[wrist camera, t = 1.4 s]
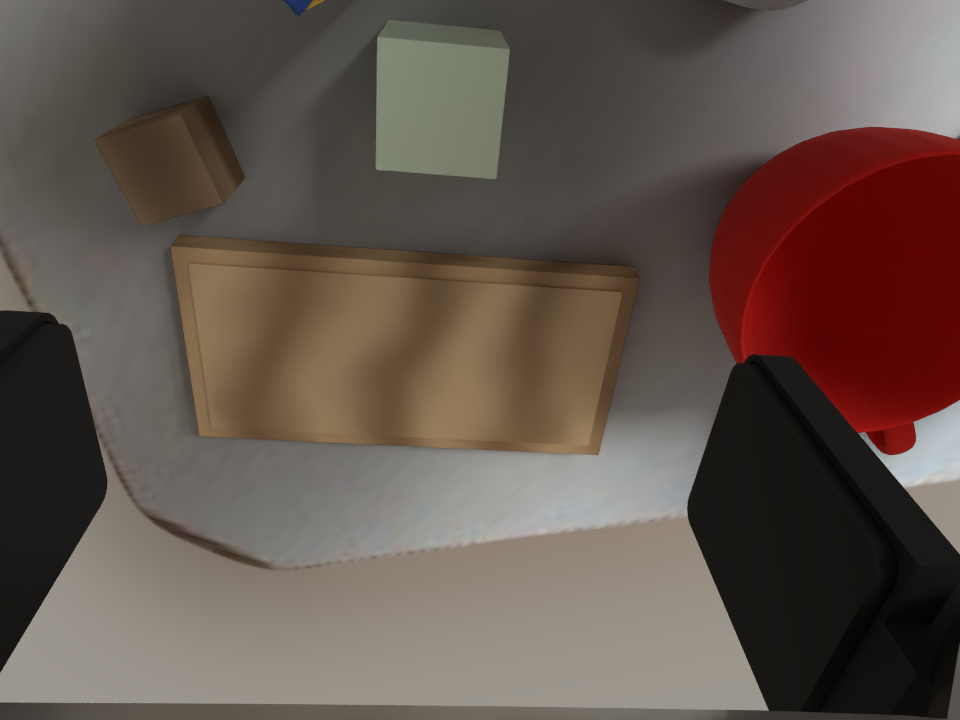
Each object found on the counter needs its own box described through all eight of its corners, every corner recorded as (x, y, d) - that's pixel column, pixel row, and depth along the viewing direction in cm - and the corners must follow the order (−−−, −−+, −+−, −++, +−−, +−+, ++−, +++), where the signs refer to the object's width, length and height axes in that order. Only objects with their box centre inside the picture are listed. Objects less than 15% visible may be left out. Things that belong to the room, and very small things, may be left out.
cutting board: (633, 266, 38) (640, 279, 36) (594, 439, 44) (598, 456, 42) (180, 235, 36) (169, 247, 34) (207, 420, 42) (198, 437, 40)
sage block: (499, 30, 31) (510, 49, 26) (489, 142, 34) (496, 179, 29) (389, 19, 31) (377, 36, 26) (386, 133, 33) (375, 169, 28)
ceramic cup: (720, 407, 43) (787, 525, 34) (641, 160, 34) (704, 235, 26) (935, 330, 40) (1064, 436, 32) (906, 44, 32) (1071, 84, 24)
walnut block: (208, 95, 32) (180, 114, 29) (245, 177, 34) (223, 203, 31) (130, 118, 33) (93, 140, 29) (171, 197, 35) (141, 226, 31)
